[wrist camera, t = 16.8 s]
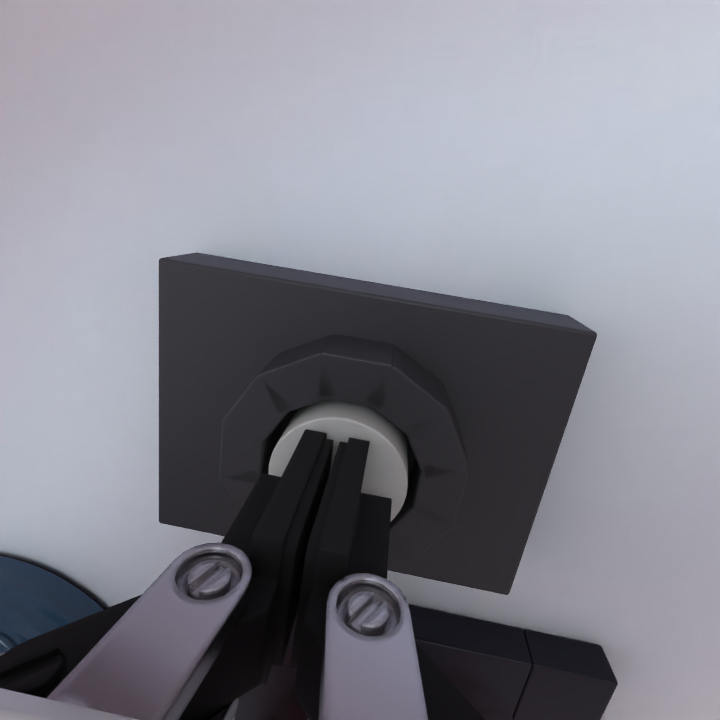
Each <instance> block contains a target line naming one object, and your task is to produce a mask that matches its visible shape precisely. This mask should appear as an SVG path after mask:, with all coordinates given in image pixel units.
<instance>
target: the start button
mask: <svg viewBox="0 0 720 720" xmlns="http://www.w3.org/2000/svg"><path fill="white" fill-rule="evenodd" d="M305 429H308V430H313V431H319V432H324V433H327V438H326V439H331V440H334V443H333V450H332V457H331V464H330V471H331V468H332V465H333V461H334V458H335V455H336V452H337V449H338V446H339V443H340V441H341V442H346V443H348V440H349V437H350V438H356V439H361V440H366V441H370V444H369V450H368V455H367V461H366V466H365V472H364V478H363V483H362V489H361V493H366V494H371V495H376V496H381V497H386V498H391V499H392V505H391V521H392V520H393V519H394V518H395V517H396V516H397V514H398V513H399V511H400V510H401V508H402V506H403V504H404V501H405V498H406V495H407V488H408V443H407V438H406V434H405V433H404V432H403V431H402V430H400V429H399V428H398V427H397V426H395V425H394V424H393V423H391V422H390V421H389V420H388V419H386V418H385V417H384V416H383V415H381V414H380V413H379V412H377V411H376V410H375V409H374V408H372V407H368V406H362V405H357V404H352V403H346V402H341V401H335V400H330V399H327V400H324V401H321V402H318V403H315V404H311V405H308V406H305V407H302V408H300V409H299V410H298V411H297V412H296V413H295V415H294V416H293V418H292V419H291V421H290V423H289V424H288V426H287V428H286V429H285V431H284V433H283V434H282V436H281V438H280V439H279V441H278V443H277V444H276V446H275V448H274V450H273V452H272V455H271V458H270V463H269V475H274V476H279V477H282V475H283V473H284V471H285V469H286V467H287V465H288V463H289V461H290V459H291V457H292V455H293V453H294V451H295V449H296V447H297V445H298V443H299V441H300V439H301V437H302V435H303V433H304V431H305ZM330 471H329V474H330ZM391 521H390V522H391Z"/></svg>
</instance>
